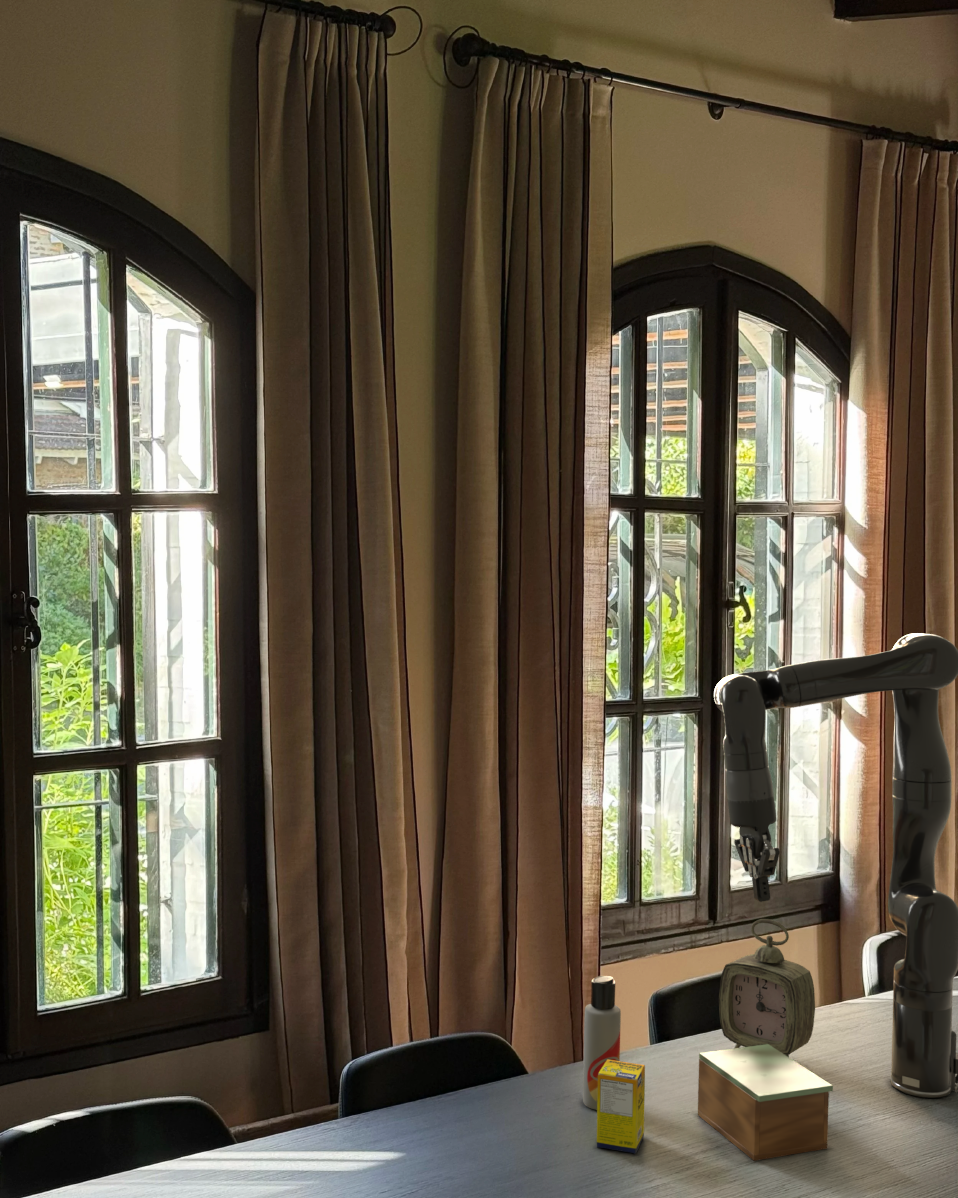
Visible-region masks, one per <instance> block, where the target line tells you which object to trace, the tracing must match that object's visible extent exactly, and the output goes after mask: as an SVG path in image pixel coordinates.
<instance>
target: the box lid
mask: <svg viewBox="0 0 958 1198" xmlns="http://www.w3.org/2000/svg"><path fill="white" fill-rule="evenodd" d="M698 1058H699V1059H701V1060H702V1061H704V1062H705V1063H707V1064H708V1065H709V1066H711V1067H712V1068H713V1069H715V1070H716V1071H718V1072H719V1073H720V1074H722V1075H723V1076H724V1077H726V1078H727V1079H728V1080H730V1081H731V1082H733V1083H734V1084H735V1085H737V1086H738V1087H739V1088H741V1089H742V1090H744V1091H745V1092H746V1093H748V1094H749V1095H750V1096H752V1097H753V1098H754V1099H756V1100H757V1101H759V1102H762V1101H769V1100H776V1099H783V1098H790V1097H796V1096H803V1095H810V1094H817V1093H823V1092H829V1093H830V1092H833V1091H834V1085H833V1084H831V1083H829V1082H828V1081H826V1080H825V1079H823V1078H822V1077H821V1076H819V1075H817V1074H815V1072H812V1071H811V1070H809V1069H808V1068H807V1067H805V1066H803V1065H801V1064H800V1063H798V1062H797V1061H796V1060H793V1059H792V1058H790V1056H789V1057H787V1056H786V1055H784V1054H783V1053H781V1052H780V1051H778V1050H777V1049H775V1048H773V1047H772V1046H770V1045H769V1044H765V1045H757V1046H750V1047H743V1046H741V1047H739V1048H735V1047H734V1048H727V1049H720V1050H719V1049H718V1050H711V1051H704V1052H699V1054H698Z"/></svg>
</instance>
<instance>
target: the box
mask: <svg viewBox="0 0 958 1198" xmlns="http://www.w3.org/2000/svg"><path fill="white" fill-rule="evenodd" d="M697 1084H698V1087H697V1116H699V1117H700V1119H702V1120H703V1121H704V1122H706V1123H707V1124H708V1125H710V1126H711V1128H713V1129H715V1130H716V1132H718V1133H719V1134H720V1135H722V1136H723V1137H724V1138H726V1139H727V1140H728V1142H731V1143H732V1145H734V1146H735V1147H736V1148H738V1149H739V1150H740V1151H741V1152H743V1153H744V1154H745V1155H746V1156H747V1157H748V1158H750V1159H751V1160H752V1161H761V1160H767V1159H773V1158H779V1157H785V1156H790V1155H797V1154H803V1153H809V1152H815V1151H821V1150H827V1149H828V1142H829V1141H828V1140H829V1139H828V1136H829V1104H830V1103H829V1102H830V1101H829V1098H830V1097H829V1096H830V1092H823V1093H817V1094H810V1095H803V1096H796V1097H790V1098H783V1099H776V1100H769V1101H762V1102H759V1101H757V1100H756V1099H754V1098H753V1097H752V1096H750V1095H749V1094H748V1093H746V1092H745V1091H744V1090H742V1089H741V1088H739V1087H738V1086H737V1085H735V1084H734V1083H733V1082H731V1081H730V1080H728V1079H727V1078H726V1077H724V1076H723V1075H722V1074H720V1073H719V1072H718V1071H716V1070H715V1069H713V1068H712V1067H711V1066H709V1065H708V1064H707V1063H705V1062H704V1061H702V1060H701V1059H700V1058H699V1059H698V1082H697Z"/></svg>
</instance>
